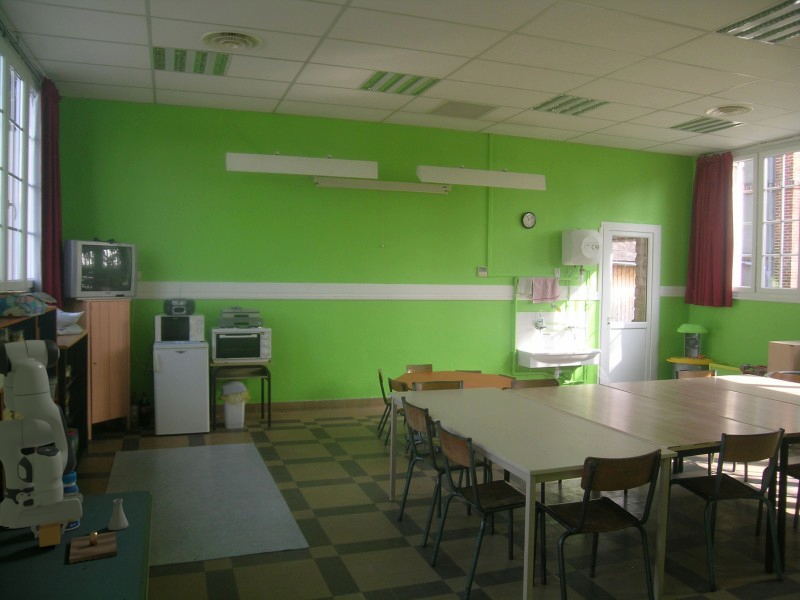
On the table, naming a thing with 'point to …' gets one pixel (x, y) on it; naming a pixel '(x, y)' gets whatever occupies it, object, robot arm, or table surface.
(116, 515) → the flask
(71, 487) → the beverage bottle
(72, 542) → the walnut post base
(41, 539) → the mustard brick
